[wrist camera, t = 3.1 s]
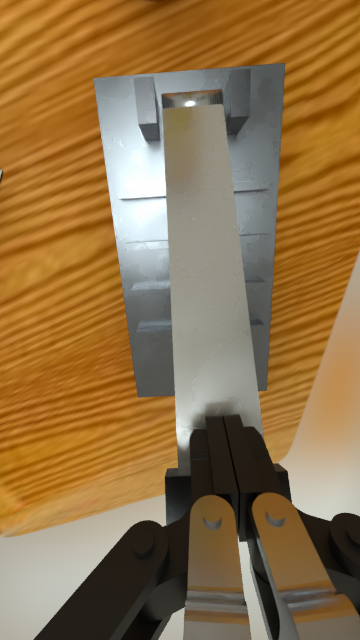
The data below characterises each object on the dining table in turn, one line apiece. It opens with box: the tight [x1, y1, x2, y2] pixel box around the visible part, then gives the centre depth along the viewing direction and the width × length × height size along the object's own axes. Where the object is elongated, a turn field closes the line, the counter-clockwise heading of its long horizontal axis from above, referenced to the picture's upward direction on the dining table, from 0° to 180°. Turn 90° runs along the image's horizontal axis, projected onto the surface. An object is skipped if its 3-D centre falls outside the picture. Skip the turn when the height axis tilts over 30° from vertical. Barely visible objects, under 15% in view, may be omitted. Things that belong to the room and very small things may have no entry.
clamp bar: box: [161, 89, 292, 525], centre depth 15 cm, size 5×25×2 cm
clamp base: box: [93, 63, 285, 397], centre depth 23 cm, size 14×28×6 cm, turn 4°
